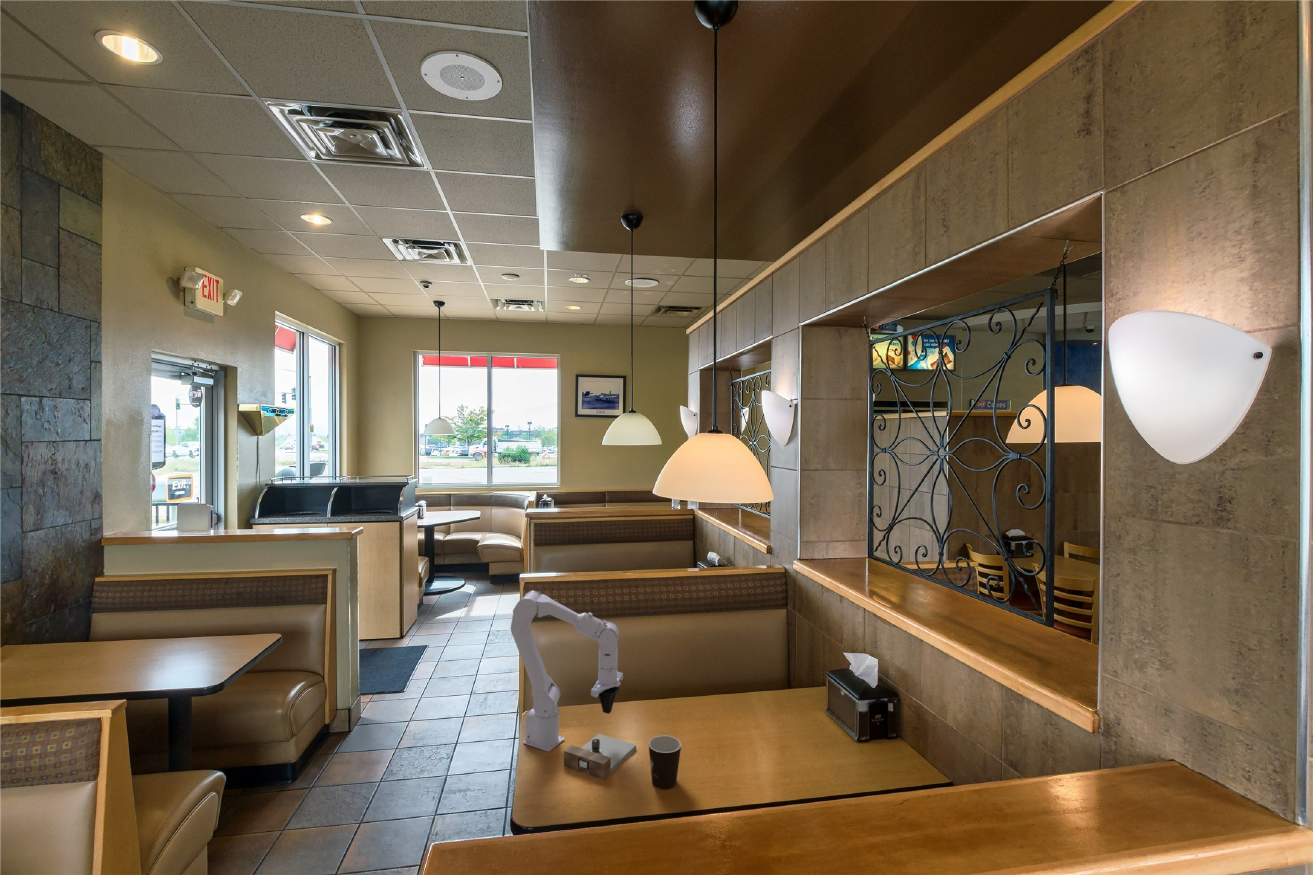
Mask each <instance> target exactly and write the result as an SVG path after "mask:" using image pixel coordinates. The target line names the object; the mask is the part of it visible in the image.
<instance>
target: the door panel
mask: <svg viewBox="0 0 1313 875" xmlns="http://www.w3.org/2000/svg"><path fill="white" fill-rule="evenodd" d="M593 739H599V740H600V750H601V753H599V754H601V755H604V756H607V757H610V758H611V773H612V772H614V771H615V770H616V769H617V768H618V767H619V766H620V765H621V764H622V763H623V762H624V761H625V760H626V759H627V758H629V756H631V755H632V753H634V752H635V751H636V750H637V744H634V743H631V742H627V741H625V740H621V739H617V738H614V737H611V736H607V735H605V734H601V733H597V735H596V736H594V737H593V738H592V739H590V740H589V741H588V742H587V743H585V744H584V745H583V746H582V747H581V748H582V749H585V750H589V751H591V750H592V740H593Z"/></svg>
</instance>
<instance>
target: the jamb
mask: <svg viewBox="0 0 1313 875" xmlns="http://www.w3.org/2000/svg"><path fill="white" fill-rule="evenodd" d="M580 760H584V761H587V762H589V767H588V768H587V769H586V768H583V767H580V766H579V764H580ZM563 767H564V768H568V769H571V770H573V771H576V772H580V773H581V774H585V775H588V776H590V777H593V778H596V779H599V780H602V781H604V780H605V779H606V778H607V777H609V775H611V773H612V772H611V758H610V757H607V756H604V755H601V754H598V753H595V752H592V751H589V750H585V749H582V747H579V746H576V745H573V744H572V745H570V746H569V747H567V748H566V749H564V750H563Z"/></svg>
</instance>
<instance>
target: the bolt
mask: <svg viewBox="0 0 1313 875" xmlns="http://www.w3.org/2000/svg"><path fill="white" fill-rule="evenodd" d="M592 739H593V738H592ZM592 739H591V740H592ZM591 751H592V752H595V753H598V754H599V753H601V750H600V740H599V739H593V740H592V750H591ZM579 766H580V767H583V768H586V769H587V768H588V767H589V762H587V761H584V760H580V764H579Z"/></svg>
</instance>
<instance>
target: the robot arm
mask: <svg viewBox="0 0 1313 875" xmlns="http://www.w3.org/2000/svg"><path fill="white" fill-rule="evenodd" d="M536 615H537V618H542V617H545V616H548V615H550V616H551V617H554V618H557V619H559V620H561V621H564V622H566V623H569V624H571V625H573V627H574V629H575V631H576V632H578V633H580V634H582V635H584V636H586V637H589V638H590V639H593V640H594V641H597V643H598V644H599V645H598V646H599V649H598V664H597V665H598V667H597V668H598V670H597V681H596V682H595V684H594V686H593V688H591V690H590V696H591V697H594V698H599V701H600V706H601V710H602V712H603V713H604V714H611V712H612V710H613V706H614V702H615V699H616V696H617V694H618V692H619V690H620V686H621V681H622V680H623V679H624V673H623V672H620V671H618V662H619V657H618V656H619V650H618V648H619V647H618V645H619V644H618V640H619V634H620V631H619V627H618V626H617V625H616V624H615V623H613V622H612V621H607V620H605V619H603V620H601V619H600V618H597V617H596V616H593V615H594V613H592V612H590V611H589V612H588V613H587V612H582V613H577V612H576V611H573V610H572V609H570V608H569V607H567V606H565V605H564V604H562V603H559V602H558V601H556V600H554V599H552V598H550V597H549V596H548V595H546V594H543V593H542V594H541V593H540V592H538V591H536V590H531V591H528V592H526V593H525V594H524V596H523V597H522V598H520V600H518V602H516V604H515V606H514V608H513V610H512V618H511V624H510V632H511V635H512V638H513V639H514V642H515V644H516V647H517V648H516V649H517V650H518V653H519V656H520V658H521V660H522V663H523V666H524V669H525V671H526V674H527V676H528V678H529V679H528V680H529V681H530V684H531V698H532V700H533V708H531V709H530V710H529V712H528V713H527V715H526V718H525V730H524V731H525V733H524V734H525V736H524V739H525V740H524V741H523V744H524V745H527V746H529V747H530V746H531V747H533V748H535V749H539V750H543V751H545V752H550V751H551V750H552V749H554V748H555V747H557V746H558V745H559V744H561V743H562V742H563V741H564V740H565V737H564V736H561V735H560V734H559V732H560V708H559V705H558V704H557V703H558V702H559V700H560V697H561V690H560V688H559V687H558V684H557V685H556V683H555V682H554V681H553V678H552V677H551V676H549V675H548V672H547V670H546V667H545V664H544V661H543V659H542V656H541V654H540V651H539V649H538V647H537V646H538V645H537V643H536V641H535V638H534V636H533V633H532V631H531V627H530V625H531V624H532V621H533V619H534V617H535V616H536Z"/></svg>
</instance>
